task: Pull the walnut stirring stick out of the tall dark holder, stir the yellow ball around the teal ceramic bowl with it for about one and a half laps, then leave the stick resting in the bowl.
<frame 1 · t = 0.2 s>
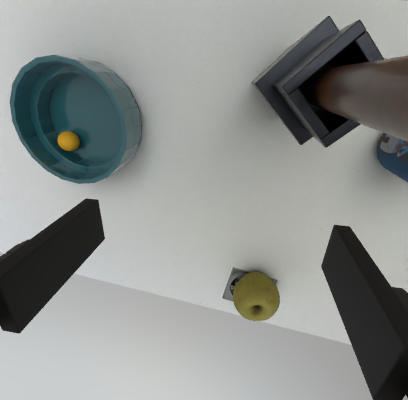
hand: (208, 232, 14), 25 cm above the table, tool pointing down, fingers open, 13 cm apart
soda can: (401, 143, 33), on the table
ball: (68, 141, 38), point 2 cm above the table, touching bowl
bowl: (92, 119, 38), on the table
holder: (284, 84, 32), on the table
apple: (255, 279, 47), on the table
stick: (313, 87, 18), point 16 cm above the table, touching holder
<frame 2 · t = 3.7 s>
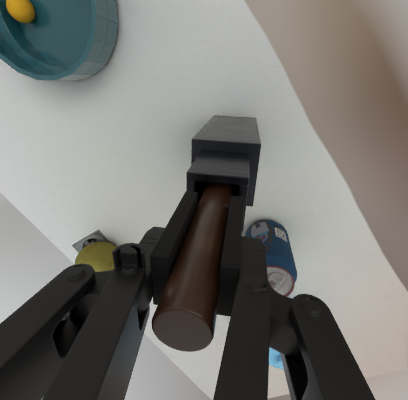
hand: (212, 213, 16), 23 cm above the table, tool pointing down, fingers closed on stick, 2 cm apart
soda can: (265, 233, 43), on the table
ball: (20, 8, 32), point 2 cm above the table, touching bowl
bowl: (63, 13, 33), on the table
holder: (233, 137, 37), on the table
apple: (109, 249, 51), on the table
stick: (223, 174, 23), point 16 cm above the table, touching gripper, holder
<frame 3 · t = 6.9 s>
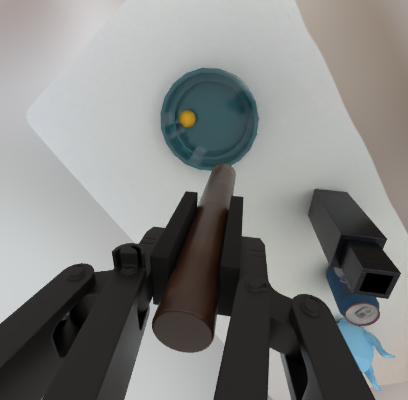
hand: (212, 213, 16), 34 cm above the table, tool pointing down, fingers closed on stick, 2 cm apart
soda can: (340, 270, 56), on the table
ball: (187, 118, 45), point 2 cm above the table, touching bowl
teapot: (340, 329, 64), on the table
bowl: (212, 118, 47), on the table
holder: (326, 204, 50), on the table
stick: (223, 174, 23), point 27 cm above the table, touching gripper
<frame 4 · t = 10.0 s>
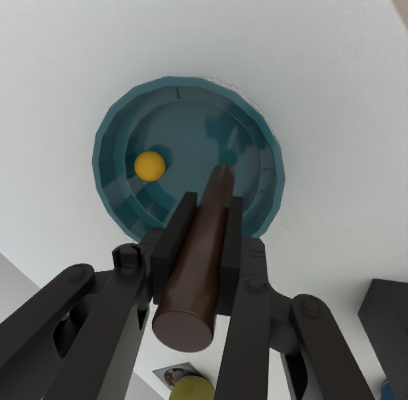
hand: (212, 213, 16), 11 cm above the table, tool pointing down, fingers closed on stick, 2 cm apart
soda can: (403, 387, 36), on the table
ball: (150, 166, 25), point 2 cm above the table, touching bowl
bowl: (196, 163, 26), on the table
holder: (391, 300, 30), on the table
apple: (197, 378, 43), on the table
stick: (223, 174, 23), point 3 cm above the table, touching gripper
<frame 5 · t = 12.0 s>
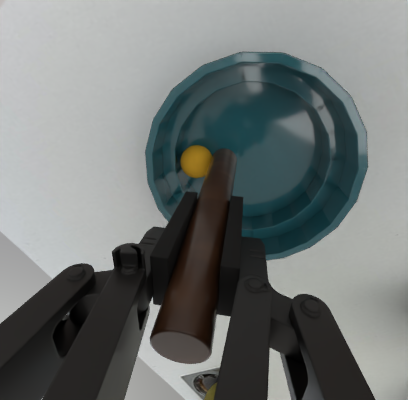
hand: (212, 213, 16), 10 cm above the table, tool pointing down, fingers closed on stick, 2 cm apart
ball: (196, 161, 23), point 2 cm above the table, tilted 20°, touching bowl
bowl: (248, 154, 24), on the table
apple: (229, 384, 41), on the table
stick: (224, 159, 22), point 3 cm above the table, tilted 7°, touching gripper
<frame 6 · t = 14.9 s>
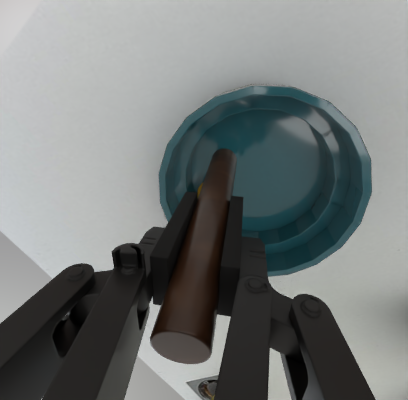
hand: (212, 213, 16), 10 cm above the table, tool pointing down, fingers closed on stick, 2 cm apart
bowl: (255, 172, 25), on the table
stick: (224, 160, 22), point 3 cm above the table, tilted 7°, touching gripper
when the fingers open (8 cm above the table, at t = 16.6 s): stick stays where it is, resting on bowl.
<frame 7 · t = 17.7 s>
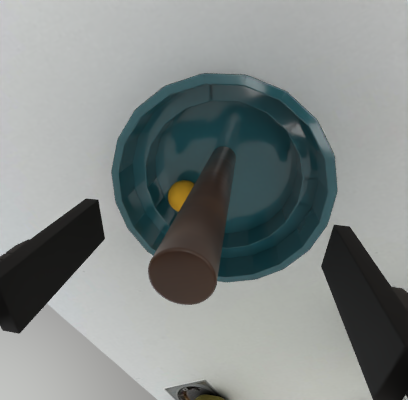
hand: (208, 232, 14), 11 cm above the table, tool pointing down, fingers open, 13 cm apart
ball: (184, 196, 23), point 2 cm above the table, tilted 75°, touching bowl
bowl: (223, 170, 24), on the table
apple: (213, 397, 41), on the table
stick: (223, 158, 22), point 1 cm above the table, touching bowl
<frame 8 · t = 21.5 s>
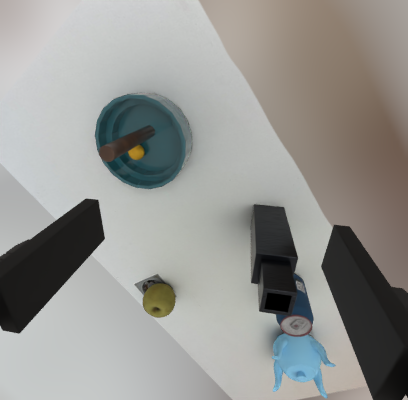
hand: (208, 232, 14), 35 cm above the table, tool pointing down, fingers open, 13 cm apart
soda can: (287, 280, 58), on the table
ball: (136, 152, 48), point 2 cm above the table, tilted 93°, touching bowl
teapot: (294, 337, 66), on the table
bowl: (151, 138, 48), on the table
holder: (266, 218, 52), on the table
apple: (164, 287, 66), on the table
stick: (149, 131, 47), point 1 cm above the table, touching bowl
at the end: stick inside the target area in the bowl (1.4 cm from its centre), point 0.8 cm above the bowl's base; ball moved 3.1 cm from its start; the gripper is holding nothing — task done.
